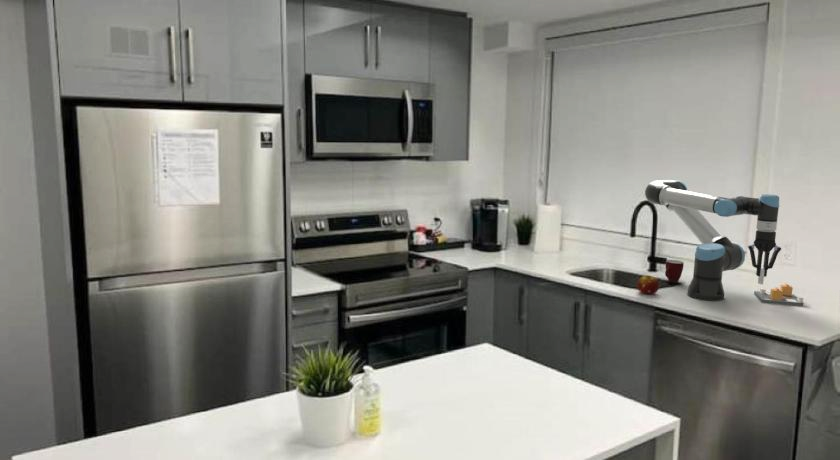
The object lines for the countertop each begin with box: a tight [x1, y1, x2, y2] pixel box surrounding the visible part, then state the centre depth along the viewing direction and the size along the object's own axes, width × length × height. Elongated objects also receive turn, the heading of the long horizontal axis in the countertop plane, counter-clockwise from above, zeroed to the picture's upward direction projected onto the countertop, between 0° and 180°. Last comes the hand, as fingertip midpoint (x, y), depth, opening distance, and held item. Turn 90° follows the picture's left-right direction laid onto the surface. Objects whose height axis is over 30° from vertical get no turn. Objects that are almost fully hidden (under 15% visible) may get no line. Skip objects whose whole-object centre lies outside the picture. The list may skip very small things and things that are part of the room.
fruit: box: [636, 274, 660, 295], centre depth 275 cm, size 10×9×8 cm
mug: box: [664, 259, 685, 283], centre depth 296 cm, size 10×8×10 cm
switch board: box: [753, 287, 805, 307], centre depth 268 cm, size 16×14×4 cm
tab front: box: [770, 287, 783, 300], centre depth 264 cm, size 4×3×5 cm
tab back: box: [779, 283, 794, 296], centre depth 270 cm, size 4×3×5 cm
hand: (760, 283), depth 265 cm, fingers closed
